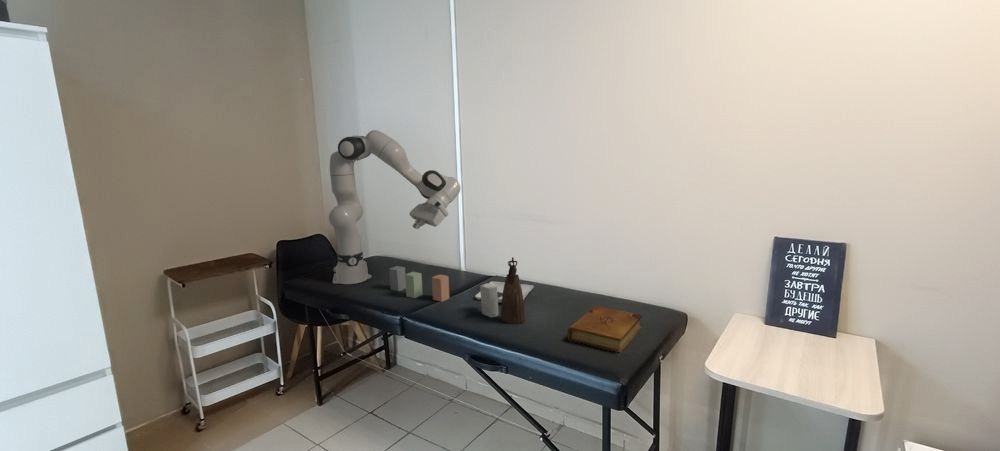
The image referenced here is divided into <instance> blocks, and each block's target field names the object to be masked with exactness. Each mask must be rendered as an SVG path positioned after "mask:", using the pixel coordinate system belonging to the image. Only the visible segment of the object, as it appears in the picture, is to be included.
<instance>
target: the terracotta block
mask: <svg viewBox="0 0 1000 451" xmlns="http://www.w3.org/2000/svg"><path fill="white" fill-rule="evenodd" d="M449 279H450V278H449V275H445V274H436V275H434V276H431V288H432V300H433V301H437V302H441V303H442V302H444V301H447V300H449V299H450V282H449Z"/></svg>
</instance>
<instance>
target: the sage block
mask: <svg viewBox="0 0 1000 451" xmlns="http://www.w3.org/2000/svg"><path fill="white" fill-rule="evenodd" d="M422 275H423V274H422V273H421V272H417V271H410V272H408V273H405V282H406V289H405V294H406V295H405V297H407V298H412V299H417V298H418V297H422V296H423V278H422V277H423V276H422Z"/></svg>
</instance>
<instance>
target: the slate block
mask: <svg viewBox="0 0 1000 451" xmlns="http://www.w3.org/2000/svg"><path fill="white" fill-rule="evenodd" d="M388 272H389V273H388V274H389V286H390V290H392V291H395V292H400V291H403V290H406V282H405V274H406V267H405V266H404V267H403V266H399V265H396V266H393V267H390V268H388Z"/></svg>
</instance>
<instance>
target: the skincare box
mask: <svg viewBox="0 0 1000 451" xmlns="http://www.w3.org/2000/svg"><path fill="white" fill-rule="evenodd" d="M489 283H490V282H489ZM489 283H488V282H487V283H484V284H481V285H480V287H479V289H480V291H481V300H480V301H481V302H480V304H481V306H480V307H481V314H482V315H484V316H486V317H489V318H494V317H498V316H499V303H498V297H499V296H498V292H497V286H494V285H491V284H489ZM480 291H479V292H480Z"/></svg>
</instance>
